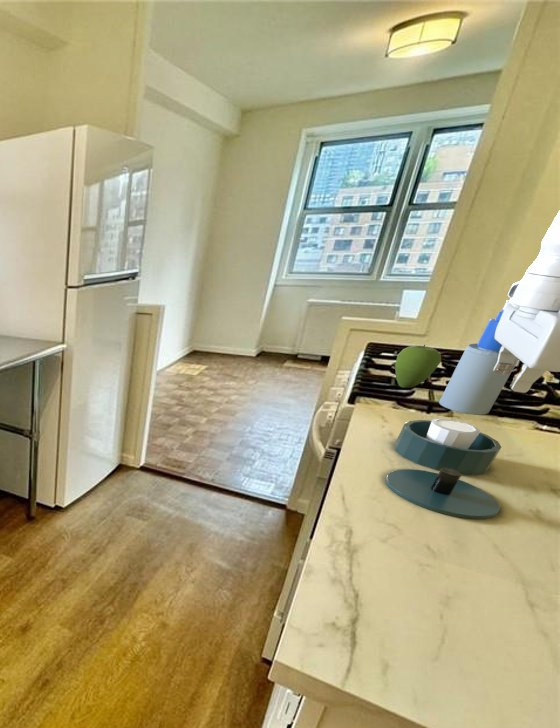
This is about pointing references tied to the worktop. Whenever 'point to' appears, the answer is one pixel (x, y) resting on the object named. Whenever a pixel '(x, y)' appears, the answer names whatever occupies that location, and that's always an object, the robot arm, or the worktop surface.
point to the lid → (443, 493)
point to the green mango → (416, 365)
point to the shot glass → (452, 433)
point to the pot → (445, 450)
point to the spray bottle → (477, 375)
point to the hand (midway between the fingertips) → (508, 381)
